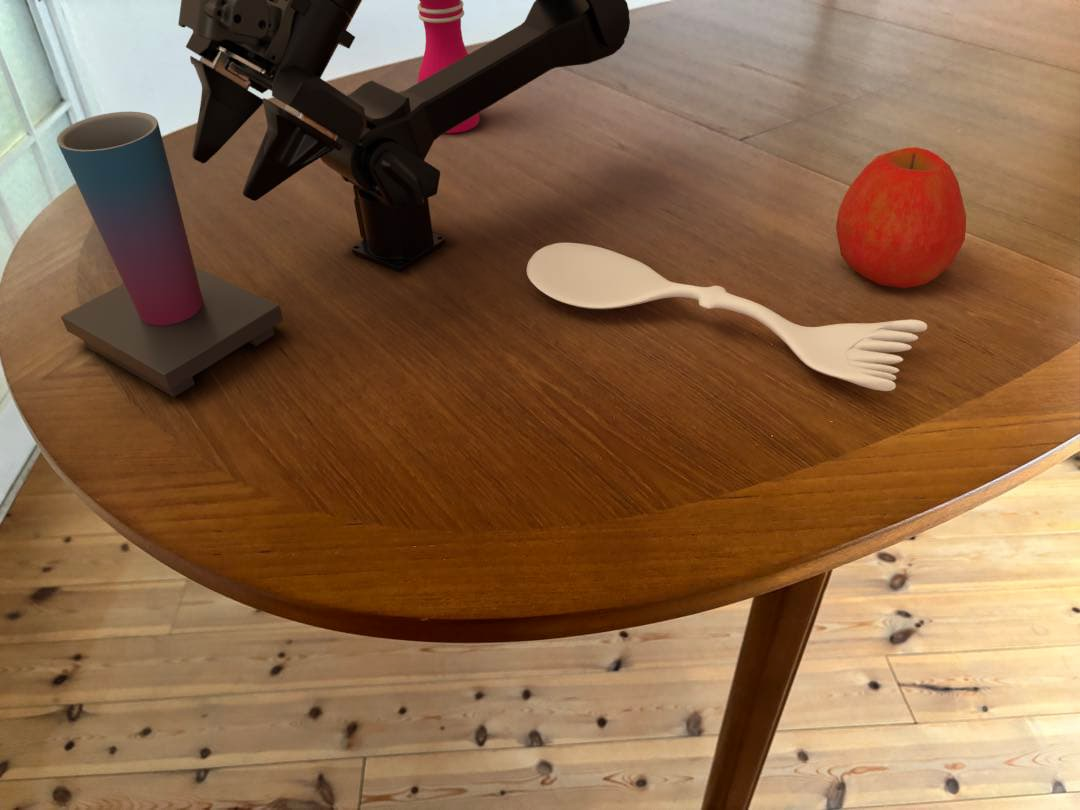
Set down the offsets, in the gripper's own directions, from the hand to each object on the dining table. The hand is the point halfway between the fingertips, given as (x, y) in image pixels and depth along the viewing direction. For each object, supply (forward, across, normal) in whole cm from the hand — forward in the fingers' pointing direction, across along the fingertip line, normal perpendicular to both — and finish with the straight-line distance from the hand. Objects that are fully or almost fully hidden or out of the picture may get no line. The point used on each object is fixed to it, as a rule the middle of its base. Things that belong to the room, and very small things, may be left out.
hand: (222, 178), depth 71 cm
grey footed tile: (+14, 0, +3) cm, 14 cm away
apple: (-22, +33, +40) cm, 56 cm away
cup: (+11, 0, +2) cm, 12 cm away
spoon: (-9, +28, +27) cm, 40 cm away
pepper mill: (-16, -20, +34) cm, 43 cm away
